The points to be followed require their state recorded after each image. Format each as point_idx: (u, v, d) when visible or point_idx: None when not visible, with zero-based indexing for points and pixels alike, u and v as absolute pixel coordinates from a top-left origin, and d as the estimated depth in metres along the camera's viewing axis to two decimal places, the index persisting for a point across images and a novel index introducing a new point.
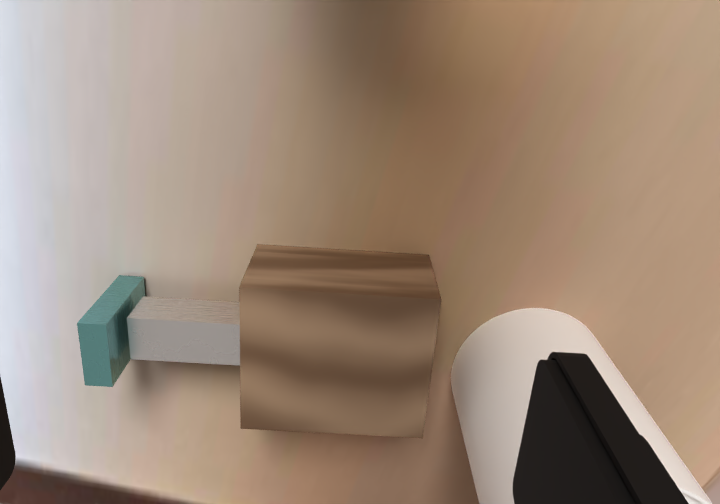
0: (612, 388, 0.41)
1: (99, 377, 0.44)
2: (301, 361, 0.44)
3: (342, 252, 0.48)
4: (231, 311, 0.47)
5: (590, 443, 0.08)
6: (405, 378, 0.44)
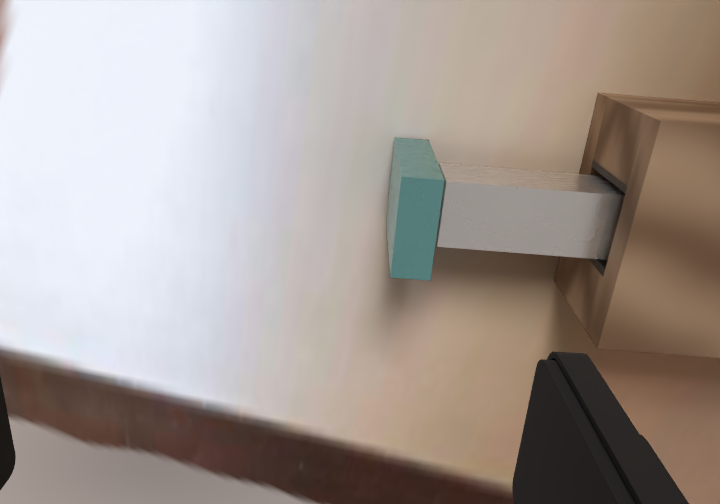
0: None
1: (414, 264, 0.29)
2: (718, 245, 0.29)
3: None
4: (578, 181, 0.32)
5: (590, 443, 0.08)
6: None
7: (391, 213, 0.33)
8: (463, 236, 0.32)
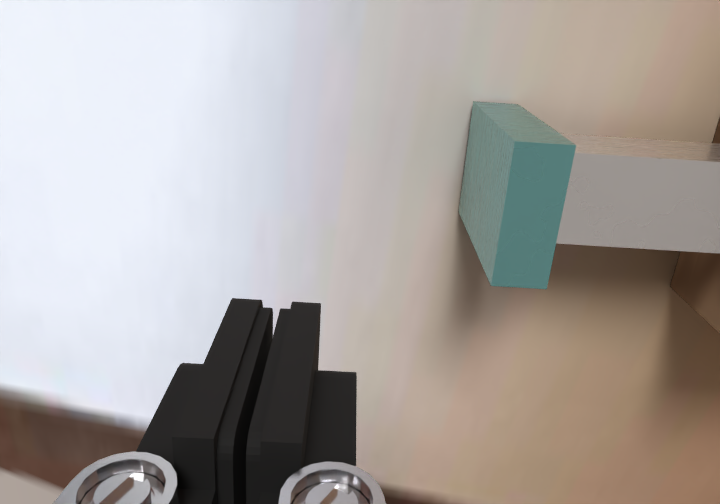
0: None
1: (525, 267, 0.21)
2: None
3: None
4: None
5: (269, 371, 0.09)
6: None
7: (479, 199, 0.24)
8: (581, 228, 0.23)
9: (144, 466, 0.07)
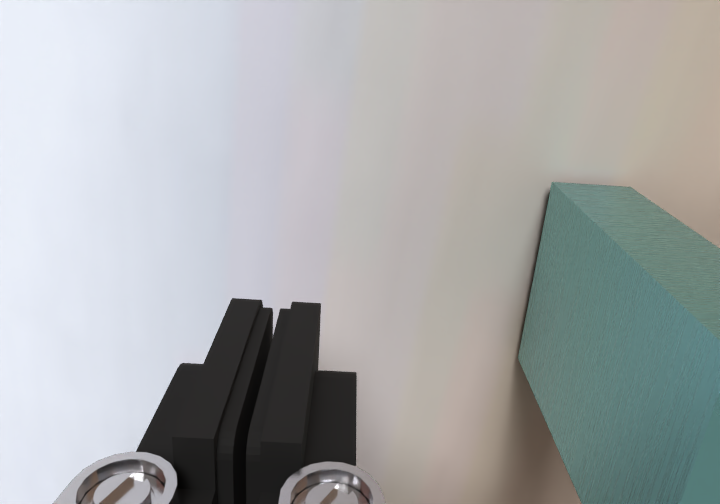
0: None
1: None
2: None
3: None
4: None
5: (268, 371, 0.09)
6: None
7: (580, 384, 0.13)
8: None
9: (144, 466, 0.07)
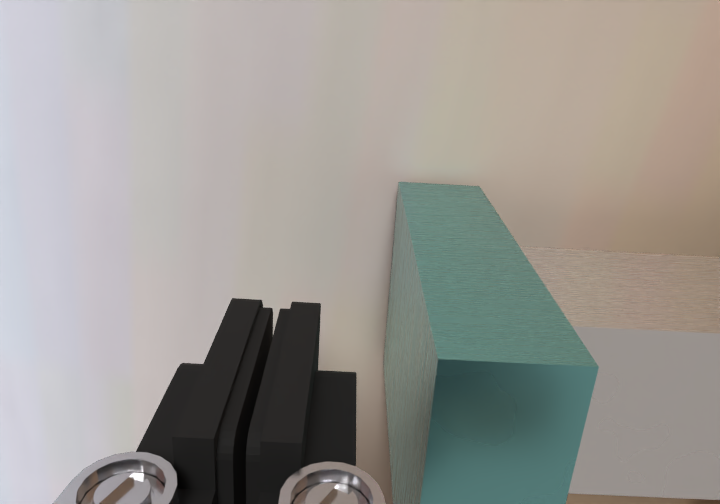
0: None
1: None
2: None
3: None
4: None
5: (268, 371, 0.09)
6: None
7: (397, 390, 0.12)
8: (603, 465, 0.11)
9: (144, 466, 0.07)
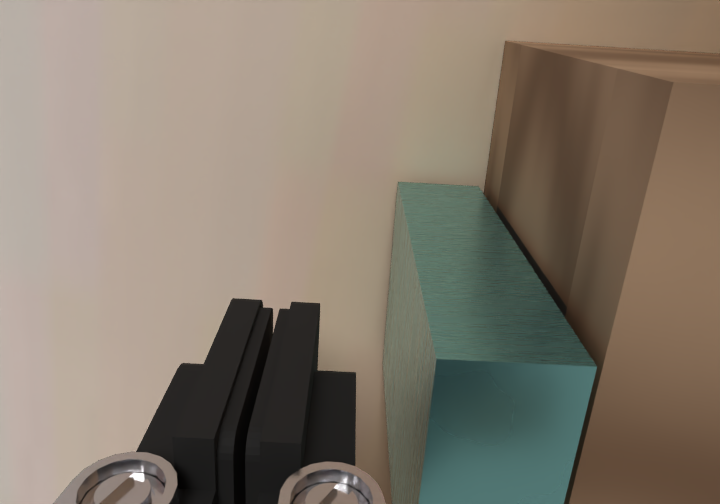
0: None
1: None
2: None
3: None
4: None
5: (268, 371, 0.09)
6: None
7: (396, 390, 0.12)
8: None
9: (144, 466, 0.07)
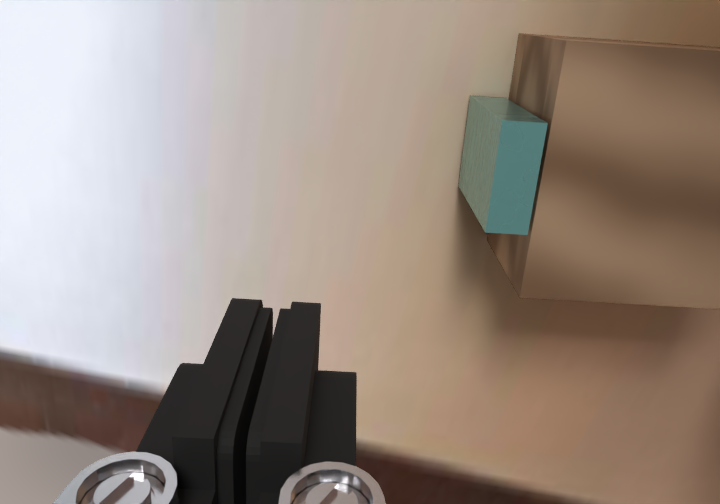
0: None
1: (511, 217, 0.28)
2: (638, 179, 0.27)
3: None
4: None
5: (268, 371, 0.09)
6: None
7: (475, 170, 0.31)
8: None
9: (144, 466, 0.07)
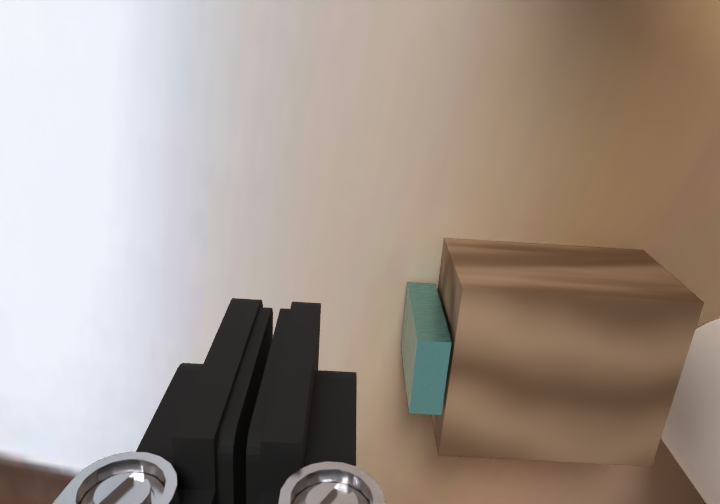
0: None
1: (428, 403, 0.37)
2: (523, 376, 0.37)
3: (545, 247, 0.41)
4: None
5: (268, 371, 0.09)
6: (644, 396, 0.37)
7: (407, 352, 0.40)
8: None
9: (144, 466, 0.07)
